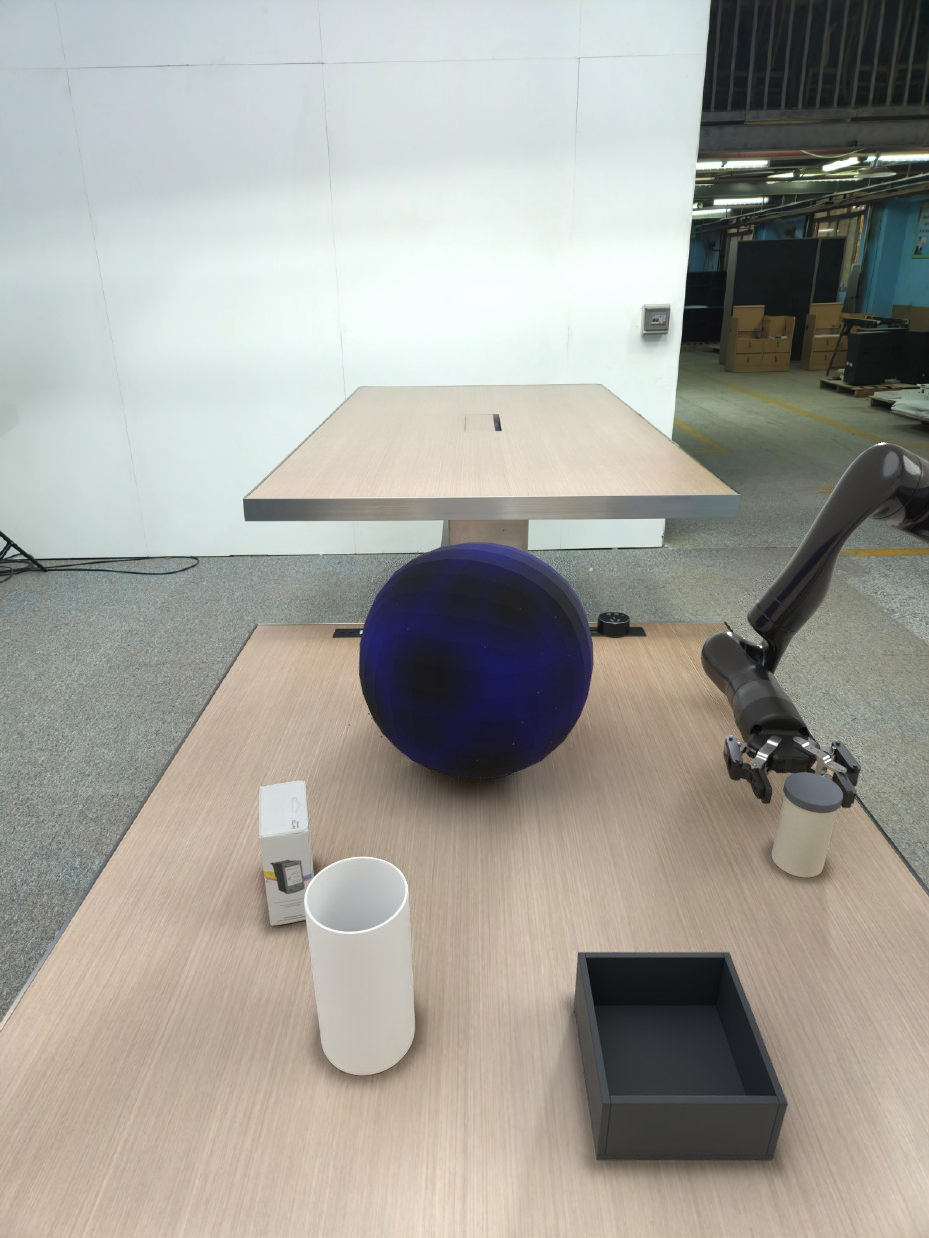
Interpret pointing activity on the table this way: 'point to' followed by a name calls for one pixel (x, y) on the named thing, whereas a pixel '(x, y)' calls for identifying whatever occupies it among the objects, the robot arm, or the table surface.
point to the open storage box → (674, 1059)
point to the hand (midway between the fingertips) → (808, 799)
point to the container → (806, 823)
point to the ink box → (285, 849)
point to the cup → (361, 963)
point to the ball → (476, 660)
